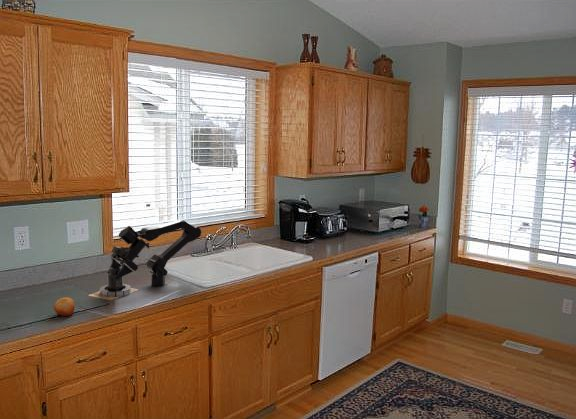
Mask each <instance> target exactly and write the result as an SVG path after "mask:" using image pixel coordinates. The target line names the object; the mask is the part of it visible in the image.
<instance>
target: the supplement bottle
mask: <svg viewBox="0 0 576 419" xmlns="http://www.w3.org/2000/svg"><path fill="white" fill-rule="evenodd" d="M120 270H121V267H111V268H110V267H109V268H108V271H109V272H110V273H109V274H108V273H107V276H106V277H107V285H108V291H119V290H123V284H124V276H122V277H120V278H118V279H116V278H115V277H116V276H117V274H118V273H119V271H120Z"/></svg>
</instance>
